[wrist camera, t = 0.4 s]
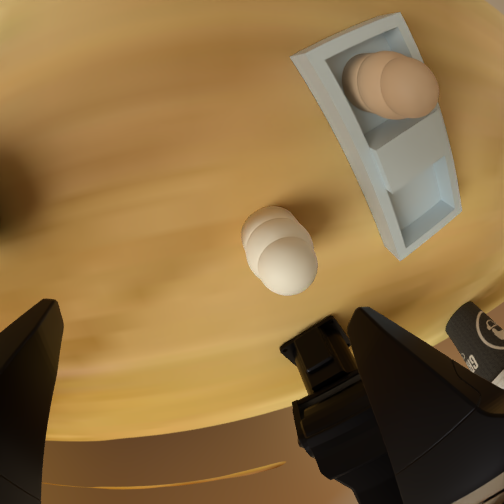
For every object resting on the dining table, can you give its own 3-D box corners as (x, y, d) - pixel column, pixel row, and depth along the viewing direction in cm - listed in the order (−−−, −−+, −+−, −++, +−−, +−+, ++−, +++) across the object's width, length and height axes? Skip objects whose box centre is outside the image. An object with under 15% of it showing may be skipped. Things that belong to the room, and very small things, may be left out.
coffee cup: (440, 316, 35) (498, 391, 23) (483, 283, 35) (542, 347, 22) (436, 348, 41) (481, 413, 28) (475, 318, 40) (522, 376, 28)
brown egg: (402, 97, 18) (463, 112, 13) (358, 124, 18) (416, 145, 13) (377, 43, 15) (439, 41, 10) (328, 67, 16) (385, 67, 11)
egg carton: (444, 199, 24) (467, 214, 22) (384, 246, 26) (405, 266, 23) (378, 15, 14) (407, 10, 12) (289, 56, 16) (310, 52, 13)
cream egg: (308, 236, 23) (343, 284, 18) (260, 269, 24) (283, 323, 19) (280, 192, 21) (313, 234, 16) (227, 229, 21) (243, 281, 16)
